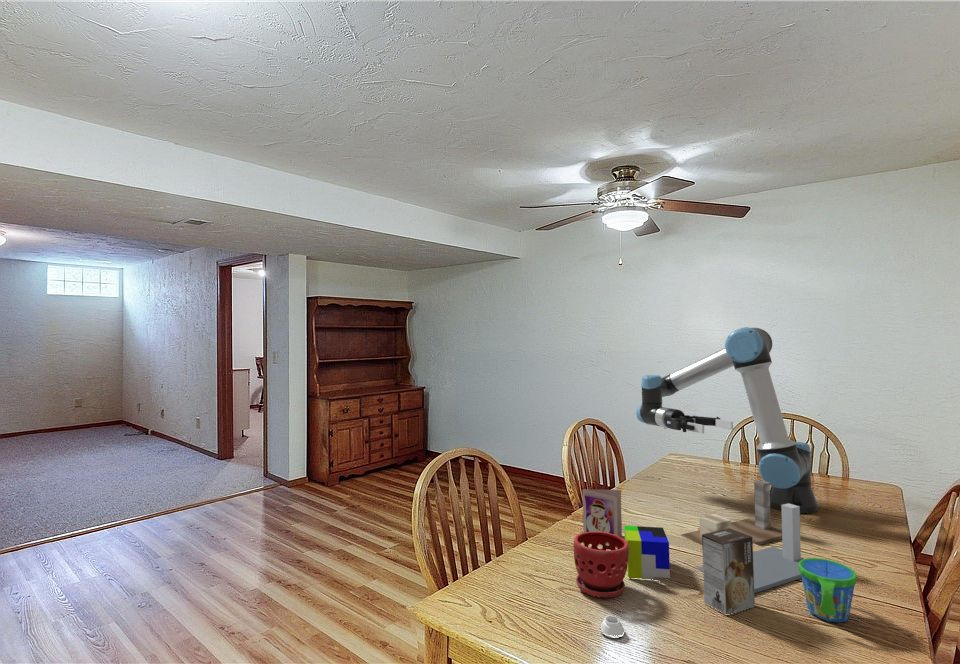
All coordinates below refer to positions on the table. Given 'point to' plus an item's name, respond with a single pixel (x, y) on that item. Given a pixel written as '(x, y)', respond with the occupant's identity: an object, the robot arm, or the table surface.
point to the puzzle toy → (647, 552)
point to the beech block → (713, 523)
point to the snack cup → (828, 588)
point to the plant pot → (601, 563)
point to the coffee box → (728, 570)
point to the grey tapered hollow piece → (612, 626)
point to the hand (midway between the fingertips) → (718, 427)
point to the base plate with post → (779, 554)
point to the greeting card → (602, 511)
